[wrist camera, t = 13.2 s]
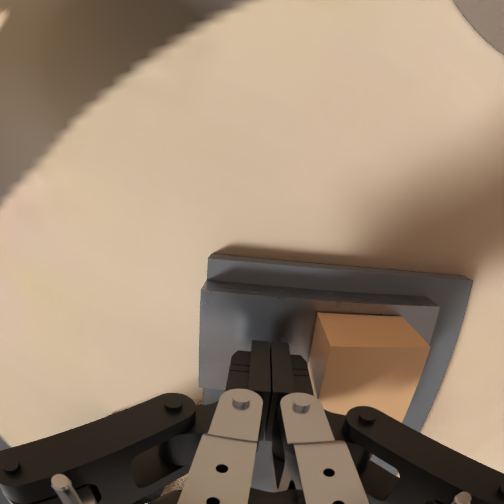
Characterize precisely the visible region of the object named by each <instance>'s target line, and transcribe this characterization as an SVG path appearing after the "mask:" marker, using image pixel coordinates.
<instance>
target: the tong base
mask: <svg viewBox="0 0 504 504" xmlns="http://www.w3.org/2000/svg"><path fill="white" fill-rule="evenodd" d="M439 309H440V306H439V305H437V304H436V303H435V302H433V301H432V300H431V299H429V298H428V297H427V296H410V295H392V294H376V293H360V292H346V291H332V290H318V289H306V288H293V287H281V286H270V285H259V284H248V283H237V282H227V281H217V280H206V282H205V284H204V286H203V287H202V289H201V301H200V335H199V387H203V388H211V389H219V390H225V389H226V383H227V378H228V373H229V367H230V362H231V357H232V355H233V354H234V353H235V352H237V351H238V350H241V351H251V344H252V340H260V341H269V342H271V341H272V342H286V343H289V350H290V354H292V355H301V356H302V357H303V358H304V359H305V361H306V362H307V366H308V362H309V356H310V351H311V346H312V340H313V335H314V329H315V323H316V317H317V312H319V313H335V314H353V315H375V316H402V317H403V318H404V319H405V320H406V321H407V322H408V323H409V324H410V325H411V326H412V328H413V329H414V330H415V331H416V332H417V333H418V334H419V335H420V336H421V337H422V338H423V339H424V340H425V341H426V342H427V343H428V345H429V344H430V341H431V338H432V334H433V331H434V327H435V324H436V320H437V317H438V313H439ZM372 458H373V455H372V457H371V459H370V460H372Z"/></svg>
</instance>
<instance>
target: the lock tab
mask: <svg viewBox="0 0 504 504" xmlns="http://www.w3.org/2000/svg"><path fill="white" fill-rule="evenodd" d="M429 350H430V346H429V345H428V343H427V342H426V341H425V340H424V339H423V338H422V337H421V336H420V335H419V334H418V333H417V332H416V331H415V330H414V329H413V328H412V326H411V325H410V324H409V323H408V322H407V321H406V320H405V319H404V318H403V317H402V316H375V315H353V314H335V313H319V312H317V317H316V323H315V329H314V335H313V340H312V346H311V351H310V356H309V362H308V371H309V375H310V379H311V384H312V388H313V393H314V397H316V398H317V399H319V400H320V402H321V403H322V406H323V409H325V410H327V411H329V412H332V413H337V414H342V415H346V414H347V412H348V411H349V410H350V409H352V408H354V407H357V406H369V407H373V408H376V409H378V410H379V411H381V412H383V413H385V414H387V415H388V416H390V417H392V418H394V419H395V420H397V421H399V422H401V423H402V421H403V419H404V417H405V415H406V412H407V410H408V407H409V405H410V403H411V400H412V398H413V395H414V393H415V390H416V387H417V385H418V382H419V379H420V377H421V374H422V371H423V368H424V365H425V362H426V360H427V357H428V353H429Z"/></svg>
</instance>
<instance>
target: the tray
mask: <svg viewBox="0 0 504 504" xmlns="http://www.w3.org/2000/svg"><path fill="white" fill-rule="evenodd" d="M207 280H217V281H227V282H237V283H248V284H259V285H270V286H281V287H293V288H306V289H318V290H332V291H346V292H360V293H376V294H392V295H410V296H427V297H428V298H429V299H431V300H432V301H433V302H435V303H436V304H437V305H439V306H440V309H439V313H438V317H437V320H436V324H435V327H434V331H433V334H432V338H431V341H430V344H429V346H430V350H429V353H428V357H427V360H426V362H425V365H424V368H423V371H422V374H421V377H420V379H419V382H418V385H417V387H416V390H415V393H414V395H413V398H412V400H411V403H410V405H409V407H408V410H407V412H406V415H405V417H404V419H403V421H402V423H403V424H405V425H406V426H408V427H410V428H412V429H414V430H416V431H418V432H420V430H421V428H422V426H423V423H424V421H425V419H426V417H427V415H428V413H429V411H430V408H431V406H432V404H433V402H434V399H435V397H436V395H437V392H438V390H439V387H440V385H441V382H442V380H443V377H444V375H445V372H446V369H447V367H448V364H449V361H450V358H451V356H452V353H453V350H454V347H455V344H456V341H457V338H458V335H459V331H460V328H461V325H462V321H463V318H464V314H465V311H466V307H467V303H468V299H469V295H470V291H471V287H472V283H473V280H471V279H469V278H467V277H465V276H460V275H448V274H436V273H424V272H412V271H400V270H388V269H377V268H365V267H354V266H342V265H331V264H320V263H308V262H297V261H286V260H275V259H264V258H253V257H242V256H231V255H220V254H211V255H210V256H209V258H208V270H207ZM224 392H225V390H219V389H211V388H204V395H203V405H207V404H212V403H215V402H217V401H219V399H220V397H221V395H222V394H223V393H224ZM271 450H272V441H265V432H264V438H263V441H260V440H259V447H258V451H257V452H256V454H255V461H254V467H253V473H252V480H251V486H250V487H251V488H255V489H259V490H263V491H267V492H274V486H273V478H272V469H271V461H270V455H271ZM371 461H373V462H374V463H376V464H377V465H379V466H381V467H382V468H384V469H385V470H387V471H389V472H390V473H392V474H393V475H395V476H396V474H397V472H398V470H397V469H396V468H394V467H392V466H391V465H389V464H387V463H386V462H384V461H383V460H381V459H379V458H378V457H376V456H375V455H373V458H372V460H371Z"/></svg>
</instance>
